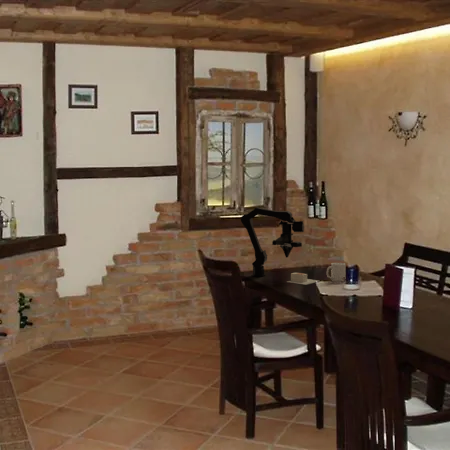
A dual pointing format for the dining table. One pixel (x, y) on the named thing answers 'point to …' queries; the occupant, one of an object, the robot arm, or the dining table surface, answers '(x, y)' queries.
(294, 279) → the block
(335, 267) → the cup
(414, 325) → the dining table surface
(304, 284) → the mat
